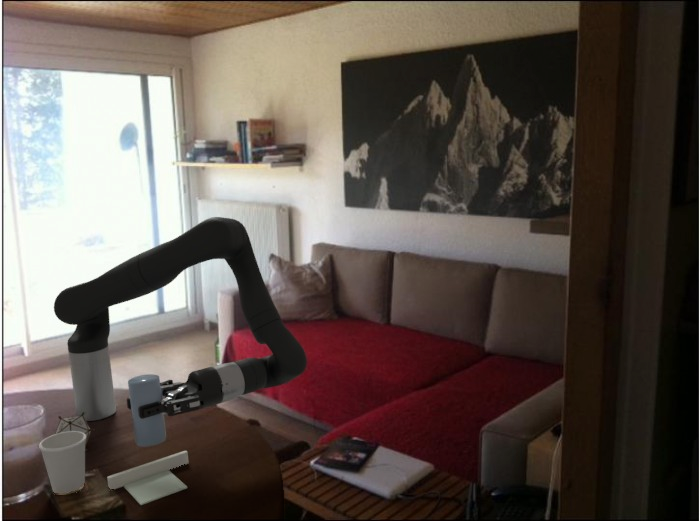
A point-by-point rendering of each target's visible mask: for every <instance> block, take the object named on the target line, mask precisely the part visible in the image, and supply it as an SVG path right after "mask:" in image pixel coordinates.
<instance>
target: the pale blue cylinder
mask: <svg viewBox="0 0 700 521" xmlns="http://www.w3.org/2000/svg"><path fill="white" fill-rule="evenodd" d="M160 383H161V382H160V376H159V375H157V374H154V373H153V374H150V373H149V374H140V375H137V376H134V377H131V378H129V379H128V381H127V385H128V386H127V387H128V395H129V397H130V403H131V416H132V417H131V418H132V427H133V432H134V433H133V435H134V442H135V445H136V446H138V447H140V448H141V447H144V448H145V447H147V448H148V447H152V446H153V447H154V446H156V445H157V446H158V445H160V444H162V443H163V442H165V441H166V440H167V433H166V423H165V422H166V421H165V414H164V415H162V414H161V413H160V414H157V415H154V416H150V417H147V418H144V419H141V418H140V417H139V414H138V408H139V407H140V406H143V405H146V404H150V403H154V402H157V401H158V402H159V401H160V400H162V396H161V387H160ZM159 403H160V402H159Z"/></svg>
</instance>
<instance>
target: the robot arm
mask: <svg viewBox="0 0 700 521" xmlns="http://www.w3.org/2000/svg"><path fill="white" fill-rule="evenodd" d="M210 260H225V262H226V263H227V265H228V267H229V268H230V269H231V271H232V273H233V276H234V278H235V280H236V283H237V287H238V295H239V302H240V308H241V311H242V314H243V316H244V318H245V321H246V323H247V325H248V327H249V329H250V332H251V334H252V335H253V337H254V339H255V341H256V342H257V343H258V344H259V345H266V346H267V347H268V349H269V350H270V351H271V353H272V354H270V355H267V356H264V357H260V358H258V357H247V358H244V359H240V360H236V361H232V362H226V363H225V362H224V363H220V364H219V363H218V364H216V365H212V366H209V367H206V368H205V367H204V368H201V369H198V370H197V369H196V370H194V371H191V372H190V373H189V374H188V376H187V380H186V381H185V382H181V381H179V382H174V380H172V379H168V380H165V381H162V382H160V387H161V396H162V400H160V401H159V402H160V403H159V402H158V401H157V402H154V403H150V404H146V405H143V406H140V407H139V408H138V414H139V417H140V418H141V419H144V418H147V417H150V416H154V415H157V414H160V413H161V414H162V415H164V416H165V415H167V416H168V417H173V416H177V415H182V414H186V413H190V412H194V411H195V412H196V411H199V410H203V409H206V408H209V407H213V406H216V405H219V404H222V403H226V402H228V401H232V400H234V399H236V398H238V397H240V396H244V395H247V394H251V393H254V392H257V391H259V390H263V389H264V390H265V389H268V388H275V387H279V386H283V385H285V384H288V383H289V382H291V381H293V380H295V379H296V378H297V377H298V378H299V376H301V375H302V374H304V373H305V371H306V369H307V366H308V359H307V355H306V351H305V349H304V348H303V345H302V344H301V343H300V341H299V340H297V338H296V337H295V336H294V335H293V333H292V332H291V331H290V330H289V328H287V326H285V324H284V321H283V319H282V317H281V315H280V313H279V311H278V309H277V307H276V305H275V303H274V301H273V299H272V297H271V295H270V293H269V291H268V288H267V285H266V282H265V281H264V279H263V275H262V273H261V271H260V270H261V269H260V267H259V265H258V261H257V258H256V256H255V253H254V249H253V246H252V242H251V239H250V237H249V234H248V231H247V229H246V227H245V226H244V225H243V223H242V222H241V221H239V220H237V219H234V218H230V217H222V216H221V217H220V216H214V217H208V218H206V219H204V220H203V221H201V222H199V223H198V224H196V225H195V226H193V227H192V228H190V229H188V230H187V231H185V232H184V233H182V234H181V235H179V236H177V237H175V238H173V239H171V240H169V241H166V242H163V243H161V244H159V245H157V246H154V247H152V248H150V249H148V250H147V249H146V250H145V251H143V252H141V253H139V254H137V255H134V256H132V257H130V258H129V259H127V260H124V261H123V262H122V263H119V264H118V265H116V266H114V267H113V268H111V269H109V270H107V271H105V272H103V274H101V275H99V276H98V277H95V278H94V279H91V280H89V281H86V282H82V283H79V284H76V285H73V286H70V287H67V288H64V289H63V290H62V291H60V292H59V294H58V295H57V296H56V298H55V300H54V303H53V311H54V314H55V316H56V318H57V319H58V320H60V322H63V323H65V325H66V324H67V325H71V326H73V325H75V326H76V327H75V329H74V331H73V333H72V334H71V336H69V338H68V340H67V350H68V351H67V352H68V360H69V366H70V367H69V368H70V373H71V382H72V390H73V397H74V405H75V406H74V407H75V412H76V413H75V414H76V416H80V415H82V413H83V412H84V415H83V417H84V419H85V420H86V422H90V421H91V422H92V421H100V420H103V419H106V418H108V417H111V416H113V415H114V414H115V413H116V411H117V408H116V406H117V405H116V400H115V398H116V397H115V391H114V381H113V373H112V367H111V365H112V364H111V357H110V349H109V336H110V332H111V326H110V325H111V323H110V310H109V309H110V308H109V307H112V306H115V305H118V304H122V303H126V302H128V301H131V300H134V299H138V298H141V297H143V296H147V295H148V294H151V293H153V292H156V291H158V290H159V289H162V288H164V287H166V286H168V285H169V284H170V283H172V282H173V281H174V280H175V279H176V278H177V277H178V276H180V274H181V273H182V272H184V271H185V270H188V268H191V267H193V266H195V265H198V264H199V265H200V263H204V262H207V261H210ZM126 408H127V409H129V410H131V403H130V396H129V397H127V398H126Z"/></svg>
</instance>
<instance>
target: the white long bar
mask: <svg viewBox="0 0 700 521" xmlns="http://www.w3.org/2000/svg"><path fill="white" fill-rule="evenodd" d="M188 454H189V452H188V451H187V450H183V451H180V452H176V453H174V454H171V455H168V456H164V457H161V458H158V459H156V460H153V461H150V462H146V463H144V464H140V465H139V466H135V467H132V468H129V469H126V470H123V471H120V472H117V473H113V474H111V475H109V476H107V477H106V480H107V487H109V488H110V489H114V490H116V489H120V488H122V487H124V486H125V485H127V484H130V483H133V482H136V481H139V480H142V479H145V478H148V477H150V476H153V475H156V474H159V473H162V472H165V471H168V470H169V471H171V470H174V469H177V468H179V466H180V467H182V466H181V465H183V466H185V465H188V464H190V463H189V455H188ZM184 464H185V465H184ZM176 467H177V468H176ZM173 468H174V469H173ZM170 469H171V470H170Z"/></svg>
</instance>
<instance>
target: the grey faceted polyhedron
mask: <svg viewBox="0 0 700 521" xmlns="http://www.w3.org/2000/svg"><path fill="white" fill-rule="evenodd" d="M83 415H84V412H83V413H82V415H80V416H77V415H75V416H68V417H61V415H58V419H59V422H58V425H57V427H56V429H55V432H54V434H58V433H62V432H67V431H79V432H82V433H84V434H85V435H86V439H85V451H86V452H87V451H88V448H87V444H88V442H89V438H90V436H91V432H94V431H95V428H91V427H90V425H89V424H88V421H86V420H85V419H84V417H83Z"/></svg>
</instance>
